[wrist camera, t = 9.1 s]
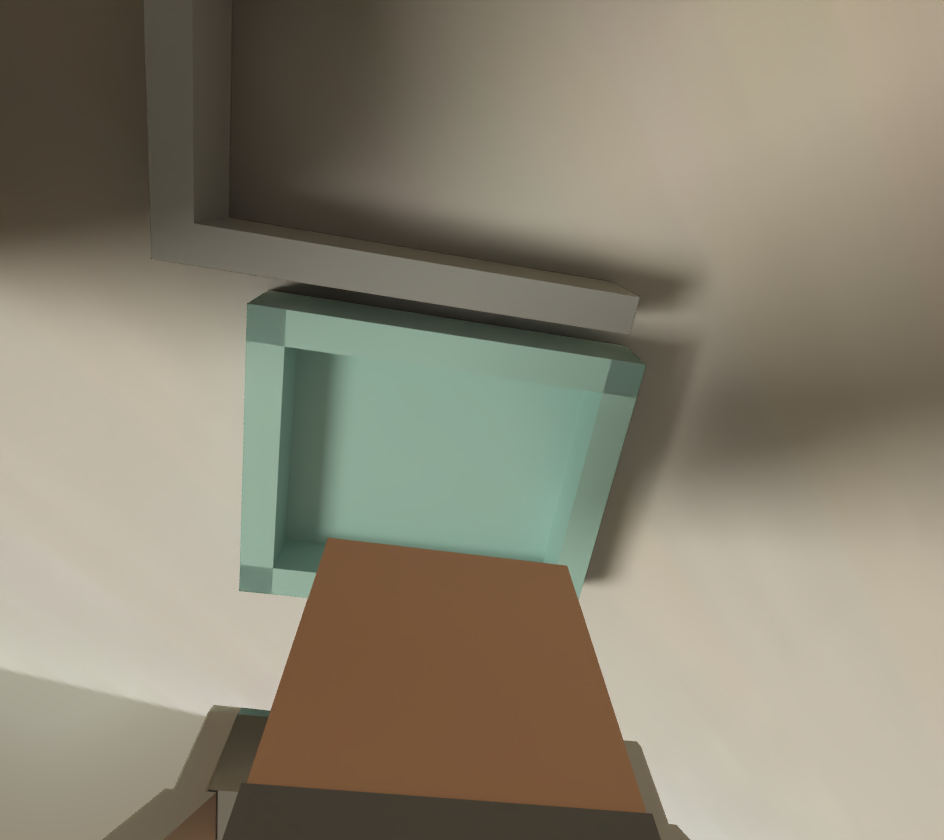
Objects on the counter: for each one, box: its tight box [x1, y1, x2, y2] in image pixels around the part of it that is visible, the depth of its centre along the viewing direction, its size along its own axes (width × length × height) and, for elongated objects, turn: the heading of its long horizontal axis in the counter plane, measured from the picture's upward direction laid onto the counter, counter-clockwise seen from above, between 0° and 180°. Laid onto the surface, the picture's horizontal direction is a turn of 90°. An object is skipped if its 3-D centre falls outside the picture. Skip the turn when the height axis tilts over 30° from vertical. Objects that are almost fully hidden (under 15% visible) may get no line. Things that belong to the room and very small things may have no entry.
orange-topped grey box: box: [222, 538, 661, 840], centre depth 10 cm, size 5×6×6 cm
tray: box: [239, 290, 646, 600], centre depth 22 cm, size 13×11×2 cm
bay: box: [143, 0, 640, 335], centre depth 17 cm, size 15×11×3 cm
